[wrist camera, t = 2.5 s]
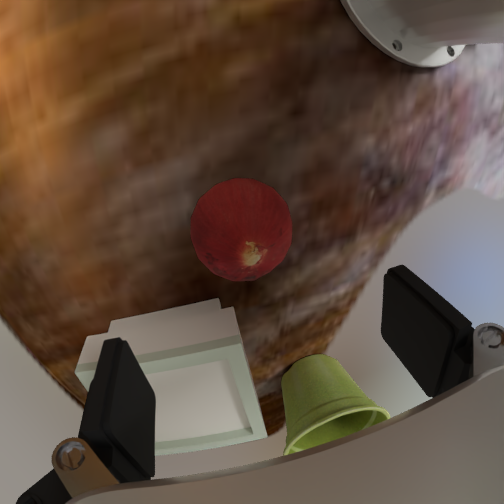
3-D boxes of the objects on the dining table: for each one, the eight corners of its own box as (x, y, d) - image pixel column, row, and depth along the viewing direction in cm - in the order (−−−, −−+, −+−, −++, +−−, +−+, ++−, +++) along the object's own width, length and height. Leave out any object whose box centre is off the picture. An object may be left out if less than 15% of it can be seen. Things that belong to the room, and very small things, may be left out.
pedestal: (228, 283, 24) (241, 342, 18) (253, 379, 29) (267, 437, 23) (95, 313, 23) (74, 372, 17) (144, 400, 28) (140, 456, 22)
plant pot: (254, 356, 28) (275, 436, 20) (353, 326, 28) (397, 392, 21) (272, 413, 32) (291, 480, 24) (353, 387, 33) (385, 446, 25)
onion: (271, 249, 24) (304, 312, 16) (191, 249, 23) (191, 317, 15) (279, 169, 21) (322, 203, 14) (191, 167, 20) (189, 200, 13)
